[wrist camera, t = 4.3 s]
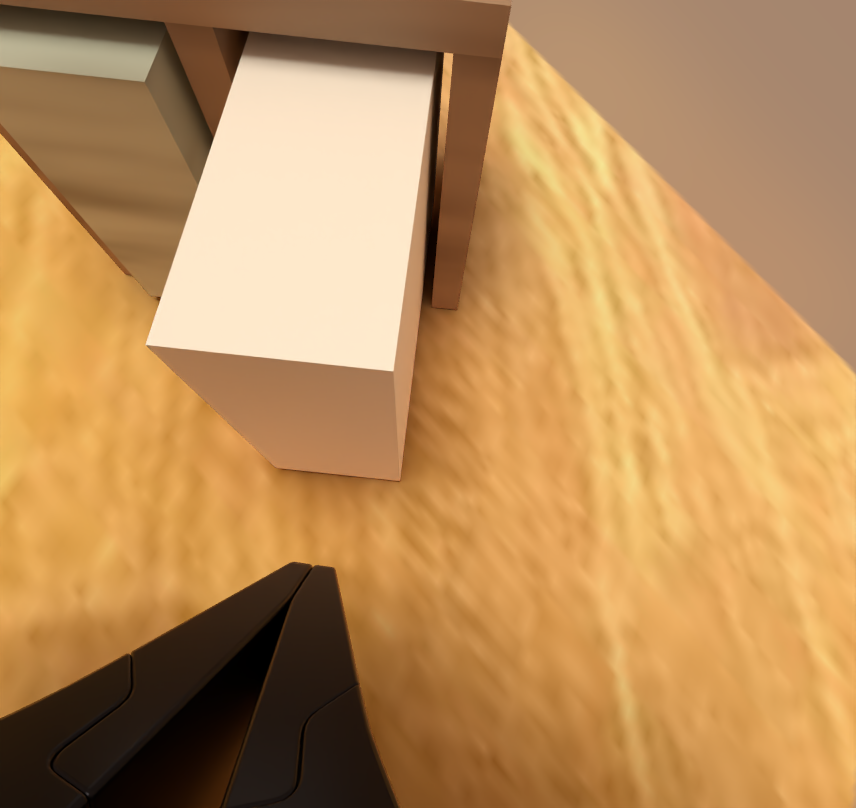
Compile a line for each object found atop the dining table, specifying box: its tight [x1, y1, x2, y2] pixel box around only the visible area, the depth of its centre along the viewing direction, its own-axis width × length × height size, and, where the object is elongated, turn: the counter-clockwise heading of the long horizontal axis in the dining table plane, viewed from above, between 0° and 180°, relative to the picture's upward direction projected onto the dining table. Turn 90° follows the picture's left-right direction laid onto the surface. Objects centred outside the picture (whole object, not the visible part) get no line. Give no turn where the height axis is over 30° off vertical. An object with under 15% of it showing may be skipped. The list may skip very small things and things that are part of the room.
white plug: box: [146, 31, 444, 481], centre depth 15 cm, size 12×4×9 cm, turn 174°
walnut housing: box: [0, 0, 511, 310], centre depth 16 cm, size 9×13×11 cm
